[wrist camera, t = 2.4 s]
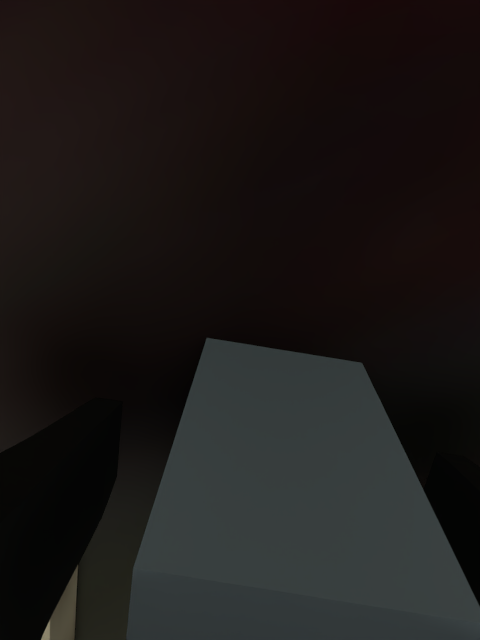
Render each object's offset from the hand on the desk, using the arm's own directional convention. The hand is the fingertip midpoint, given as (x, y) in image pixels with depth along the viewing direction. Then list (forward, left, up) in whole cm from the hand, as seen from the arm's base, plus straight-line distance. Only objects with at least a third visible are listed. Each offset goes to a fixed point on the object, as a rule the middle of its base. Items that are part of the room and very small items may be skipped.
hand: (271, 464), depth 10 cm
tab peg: (0, 0, -2) cm, 2 cm away
